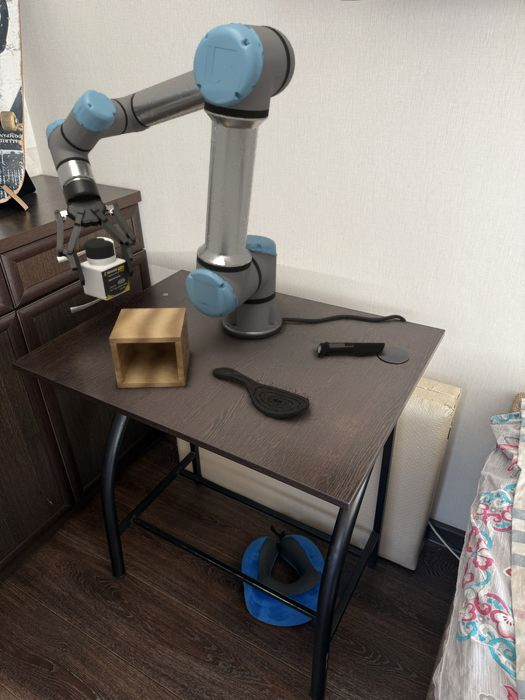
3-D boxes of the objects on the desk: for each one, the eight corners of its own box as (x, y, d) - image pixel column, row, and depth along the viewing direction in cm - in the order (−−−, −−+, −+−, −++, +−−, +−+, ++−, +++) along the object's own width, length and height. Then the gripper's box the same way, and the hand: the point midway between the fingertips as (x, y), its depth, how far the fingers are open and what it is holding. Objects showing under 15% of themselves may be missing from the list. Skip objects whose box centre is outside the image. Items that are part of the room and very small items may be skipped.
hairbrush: (226, 353, 111) (319, 392, 96) (228, 367, 113) (318, 408, 98) (199, 369, 106) (292, 413, 91) (201, 383, 107) (293, 429, 93)
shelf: (189, 353, 116) (185, 307, 110) (185, 386, 105) (180, 336, 99) (129, 355, 116) (121, 308, 109) (117, 388, 104) (108, 338, 98)
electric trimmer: (385, 358, 115) (387, 347, 113) (317, 358, 115) (318, 346, 113) (381, 350, 118) (383, 338, 117) (316, 350, 118) (317, 338, 116)
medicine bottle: (106, 301, 107) (97, 247, 101) (84, 294, 111) (73, 241, 104) (130, 289, 113) (122, 238, 106) (108, 283, 116) (99, 232, 110)
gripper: (127, 191, 119) (155, 276, 115) (27, 203, 110) (54, 295, 106) (130, 172, 112) (160, 261, 108) (24, 183, 103) (52, 281, 99)
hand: (107, 278), depth 107 cm, fingers closed on medicine bottle, 9 cm apart
